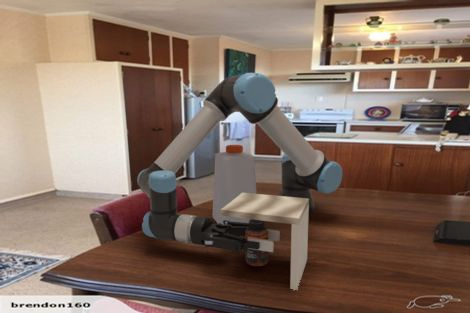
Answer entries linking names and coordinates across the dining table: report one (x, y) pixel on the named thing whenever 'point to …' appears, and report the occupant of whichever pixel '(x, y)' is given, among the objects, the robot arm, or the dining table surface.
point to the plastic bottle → (232, 180)
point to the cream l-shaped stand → (282, 212)
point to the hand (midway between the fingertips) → (276, 241)
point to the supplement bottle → (260, 232)
